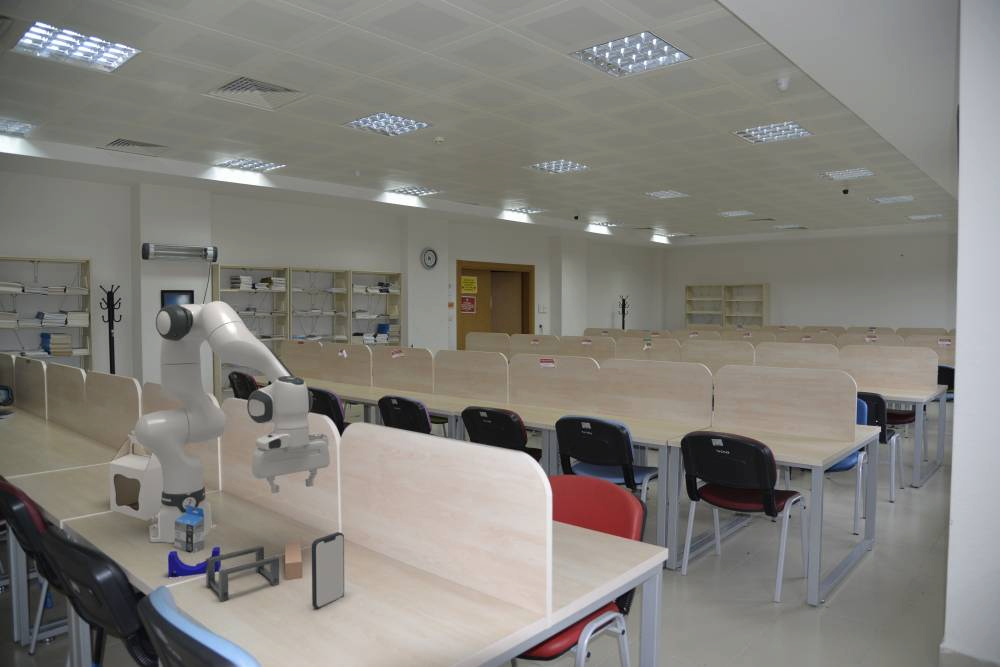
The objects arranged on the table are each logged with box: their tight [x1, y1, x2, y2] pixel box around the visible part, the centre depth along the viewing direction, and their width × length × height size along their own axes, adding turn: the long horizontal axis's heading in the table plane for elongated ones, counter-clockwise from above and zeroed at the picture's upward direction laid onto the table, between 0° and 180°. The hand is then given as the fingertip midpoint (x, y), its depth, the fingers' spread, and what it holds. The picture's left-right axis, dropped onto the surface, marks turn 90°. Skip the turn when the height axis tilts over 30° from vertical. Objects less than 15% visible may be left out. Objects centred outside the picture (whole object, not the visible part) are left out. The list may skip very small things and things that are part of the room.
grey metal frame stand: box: [205, 545, 280, 603], centre depth 161 cm, size 12×14×7 cm
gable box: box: [108, 429, 163, 521], centre depth 220 cm, size 22×13×28 cm, turn 59°
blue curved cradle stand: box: [167, 546, 222, 579], centre depth 170 cm, size 12×4×6 cm, turn 106°
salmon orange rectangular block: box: [284, 540, 303, 581], centre depth 172 cm, size 16×4×5 cm, turn 19°
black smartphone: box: [311, 531, 345, 609], centre depth 152 cm, size 9×2×16 cm, turn 144°
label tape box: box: [173, 505, 205, 554], centre depth 186 cm, size 9×4×12 cm, turn 60°
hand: (292, 489), depth 171 cm, fingers open, 8 cm apart
